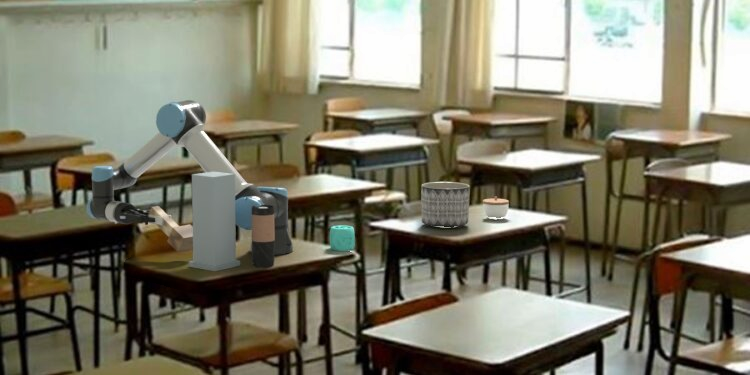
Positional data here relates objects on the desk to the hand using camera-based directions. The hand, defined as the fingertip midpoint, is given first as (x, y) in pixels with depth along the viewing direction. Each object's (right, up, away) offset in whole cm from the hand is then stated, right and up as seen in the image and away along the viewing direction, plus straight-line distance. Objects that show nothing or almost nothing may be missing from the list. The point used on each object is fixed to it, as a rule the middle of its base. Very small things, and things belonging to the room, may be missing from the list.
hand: (166, 220), depth 423 cm
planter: (+99, -4, +66) cm, 120 cm away
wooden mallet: (+1, -5, 0) cm, 5 cm away
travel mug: (+34, -15, -10) cm, 39 cm away
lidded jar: (+121, -2, +84) cm, 148 cm away
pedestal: (+18, -15, -12) cm, 26 cm away
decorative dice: (+60, -11, +19) cm, 64 cm away
